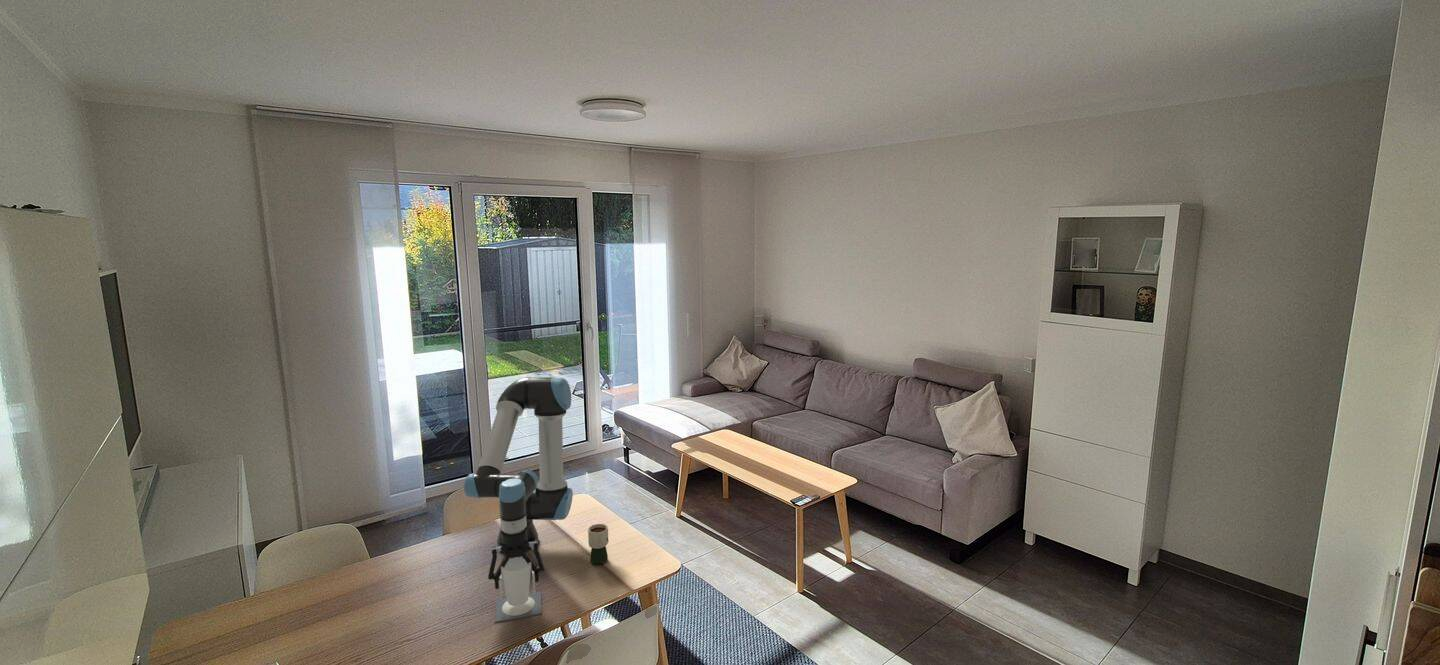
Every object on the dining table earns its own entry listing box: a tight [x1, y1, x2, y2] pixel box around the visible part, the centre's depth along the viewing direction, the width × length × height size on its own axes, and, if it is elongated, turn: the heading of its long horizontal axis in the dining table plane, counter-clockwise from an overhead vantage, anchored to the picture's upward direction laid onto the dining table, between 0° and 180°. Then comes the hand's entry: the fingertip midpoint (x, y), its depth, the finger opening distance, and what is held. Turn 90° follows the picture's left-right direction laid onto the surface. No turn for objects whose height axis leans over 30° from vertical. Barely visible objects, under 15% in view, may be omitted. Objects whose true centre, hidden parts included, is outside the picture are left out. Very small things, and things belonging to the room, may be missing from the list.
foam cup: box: [501, 556, 533, 606], centre depth 192 cm, size 10×9×13 cm
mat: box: [494, 590, 543, 624], centre depth 194 cm, size 12×14×1 cm
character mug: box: [587, 523, 609, 565], centre depth 219 cm, size 11×7×13 cm, turn 29°
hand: (517, 593), depth 193 cm, fingers closed on foam cup, 9 cm apart
